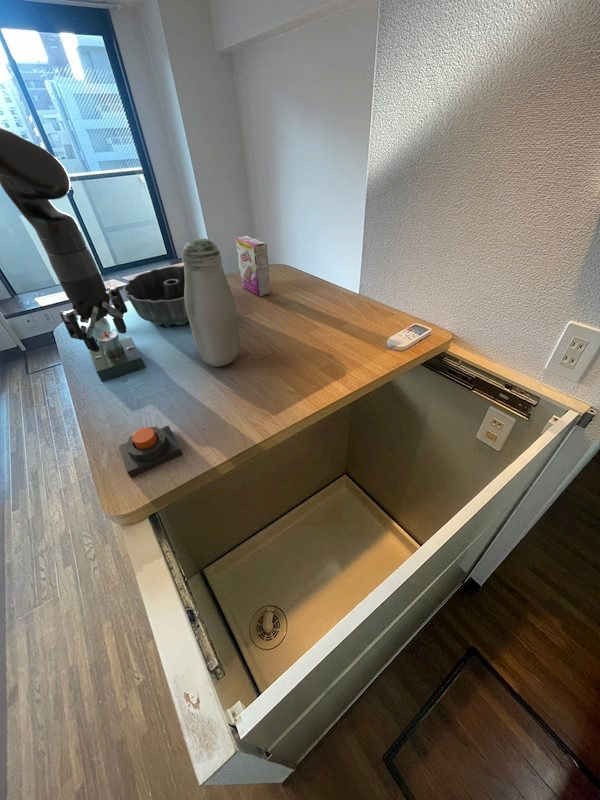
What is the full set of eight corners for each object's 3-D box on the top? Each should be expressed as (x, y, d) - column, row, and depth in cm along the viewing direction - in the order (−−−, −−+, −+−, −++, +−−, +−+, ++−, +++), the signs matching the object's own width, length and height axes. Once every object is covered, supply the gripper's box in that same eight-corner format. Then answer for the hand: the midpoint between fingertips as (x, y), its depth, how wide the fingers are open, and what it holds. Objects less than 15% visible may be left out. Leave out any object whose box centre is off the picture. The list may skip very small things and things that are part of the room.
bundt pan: (182, 342, 88) (172, 308, 81) (115, 322, 97) (101, 289, 90) (239, 304, 105) (235, 273, 99) (177, 290, 115) (170, 260, 108)
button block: (130, 478, 55) (123, 465, 53) (121, 451, 59) (114, 439, 57) (182, 454, 59) (177, 441, 56) (170, 431, 63) (165, 418, 61)
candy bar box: (241, 287, 115) (234, 237, 105) (252, 284, 118) (247, 235, 107) (259, 297, 109) (254, 245, 98) (271, 293, 111) (267, 242, 101)
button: (138, 452, 55) (134, 446, 54) (133, 439, 57) (129, 432, 56) (159, 443, 57) (156, 436, 55) (154, 431, 59) (151, 424, 58)
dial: (126, 353, 79) (118, 336, 75) (106, 359, 77) (97, 342, 74) (122, 345, 81) (114, 328, 78) (103, 351, 79) (94, 333, 76)
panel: (146, 367, 79) (141, 356, 77) (101, 382, 75) (95, 371, 73) (134, 346, 87) (130, 335, 85) (93, 358, 83) (87, 347, 81)
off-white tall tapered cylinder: (226, 377, 76) (201, 251, 57) (192, 366, 79) (158, 244, 61) (250, 356, 83) (234, 237, 64) (217, 346, 86) (193, 231, 68)
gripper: (91, 259, 72) (119, 325, 83) (32, 283, 62) (72, 354, 73) (118, 262, 70) (142, 329, 81) (61, 288, 60) (98, 360, 71)
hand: (109, 341), depth 77 cm, fingers open, 8 cm apart
